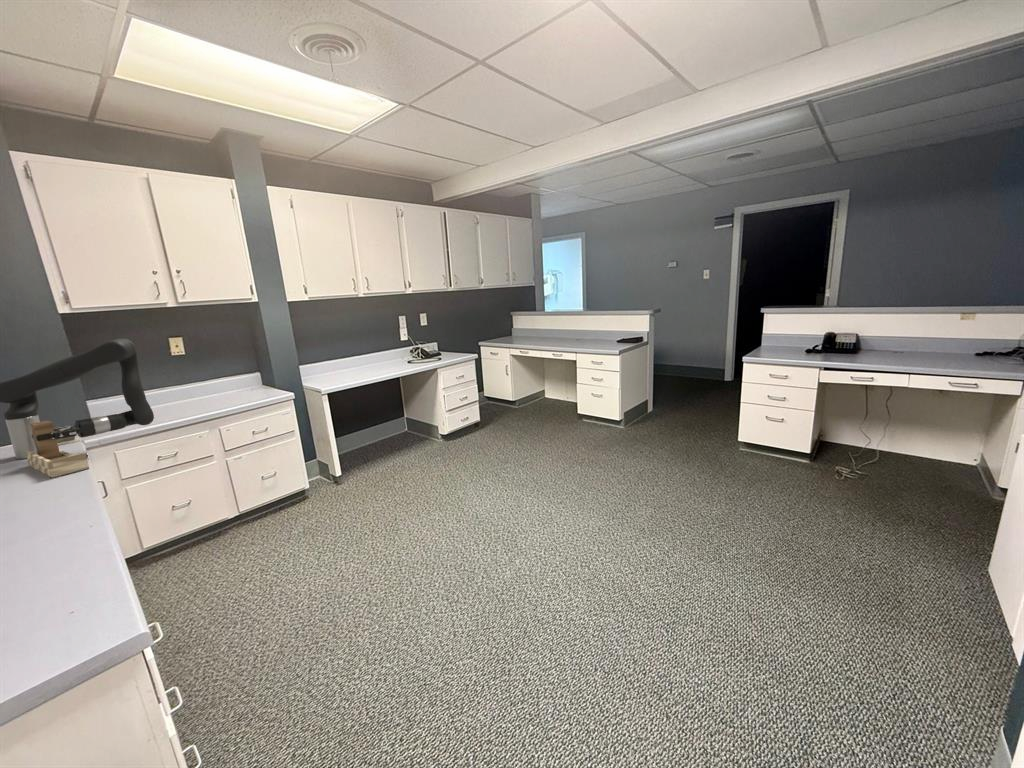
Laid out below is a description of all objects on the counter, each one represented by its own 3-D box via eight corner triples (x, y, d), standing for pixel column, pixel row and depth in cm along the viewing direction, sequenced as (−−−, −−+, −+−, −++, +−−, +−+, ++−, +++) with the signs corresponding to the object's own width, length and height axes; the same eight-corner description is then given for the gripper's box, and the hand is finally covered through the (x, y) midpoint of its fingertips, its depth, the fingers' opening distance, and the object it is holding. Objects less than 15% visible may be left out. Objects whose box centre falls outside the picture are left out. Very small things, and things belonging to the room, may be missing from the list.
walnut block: (38, 457, 165) (29, 423, 163) (56, 453, 170) (48, 420, 167) (42, 459, 163) (33, 425, 160) (60, 455, 167) (52, 421, 165)
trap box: (29, 466, 166) (25, 451, 165) (64, 458, 175) (61, 443, 173) (52, 478, 152) (47, 461, 151) (89, 468, 161) (85, 453, 160)
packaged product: (38, 433, 200) (67, 428, 208) (41, 443, 201) (70, 437, 209) (48, 438, 191) (78, 432, 199) (51, 448, 192) (81, 442, 200)
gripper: (85, 416, 180) (26, 426, 165) (97, 419, 173) (37, 430, 158) (88, 432, 181) (31, 444, 167) (101, 436, 174) (42, 449, 160)
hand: (34, 437), depth 163 cm, fingers closed on walnut block, 5 cm apart
